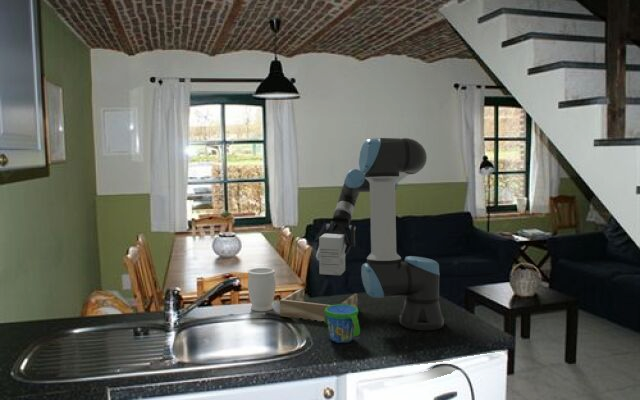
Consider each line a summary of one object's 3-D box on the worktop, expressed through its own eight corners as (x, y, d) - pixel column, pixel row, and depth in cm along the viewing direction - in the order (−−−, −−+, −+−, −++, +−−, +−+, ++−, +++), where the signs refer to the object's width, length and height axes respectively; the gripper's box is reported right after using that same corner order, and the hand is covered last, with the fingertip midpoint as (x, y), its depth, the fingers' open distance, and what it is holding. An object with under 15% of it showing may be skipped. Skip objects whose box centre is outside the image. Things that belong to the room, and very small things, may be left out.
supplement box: (324, 269, 212) (324, 233, 210) (345, 270, 209) (345, 233, 208) (318, 274, 203) (318, 236, 201) (340, 275, 201) (340, 237, 199)
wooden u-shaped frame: (301, 302, 207) (301, 287, 207) (357, 309, 198) (357, 293, 197) (280, 316, 190) (279, 300, 190) (339, 323, 181) (339, 307, 180)
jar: (243, 311, 196) (242, 272, 195) (254, 303, 206) (254, 266, 205) (269, 313, 193) (269, 274, 192) (279, 306, 203) (279, 268, 201)
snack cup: (369, 344, 161) (369, 312, 160) (340, 350, 156) (340, 318, 155) (342, 329, 175) (342, 300, 174) (315, 335, 169) (315, 305, 169)
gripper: (370, 221, 214) (358, 266, 201) (320, 218, 222) (306, 262, 209) (366, 210, 209) (354, 255, 196) (316, 208, 217) (300, 251, 204)
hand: (329, 259), depth 203 cm, fingers closed on supplement box, 10 cm apart
